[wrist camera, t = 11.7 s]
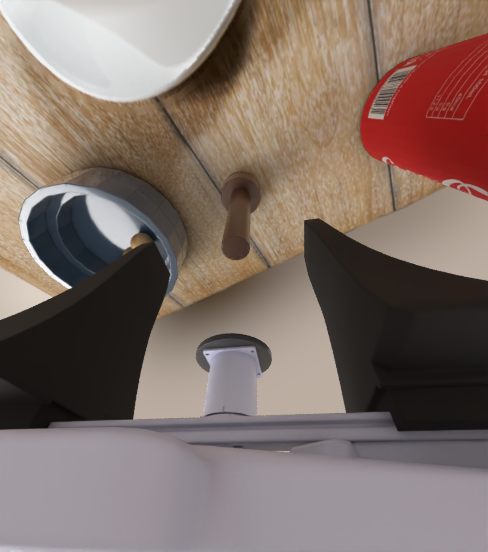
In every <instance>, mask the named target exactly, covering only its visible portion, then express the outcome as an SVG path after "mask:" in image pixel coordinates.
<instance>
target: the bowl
mask: <svg viewBox="0 0 488 552" xmlns="http://www.w3.org/2000/svg"><path fill="white" fill-rule="evenodd" d="M18 220H19V226H20V231H21V237H22V240H23V242H24V243H25V245H26V247H27V249H28V250H29V252H30V254H31V256H32V257H33V259H34V260H35V261H36V262H37V263H38V264H39V265H40V266H41V267H42V268H43V269H44V270H45V272H46V273H47V274H48V275H50V276H51V277H52V278H54V279H55V280H56V281H58V282H59V283H60V284H62V285H63V286H65V287H66V288H67V289H70V288H72V287H74V286H76V285H77V284H79V283H81V282H83V281H84V280H86V279H88V278H89V277H91V276H92V275H94V274H95V273H97V272H99V271H100V270H102V269H103V268H105V267H106V266H108V265H109V264H111V263H112V262H114V261H115V260H117V259H118V258H120V257H121V256H123V252H124V251H125V250H126V249H127V248H129V247H131V245H130V241H131V238H132V237H133V236H134V235H135V234H137V233H145V234H147V235H149V236H150V237H151V238H152V240H153V242H155V244H156V246H157V248H158V250H159V252H160V254H161V256H162V258H163V260H164V262H165V264H166V266H167V268H168V270H169V272H170V278H169V284H168V288H167V292H166V294H165V296H167V295H168V294H169V293H170V292H171V291H172V290H173V287H174V285H175V282H176V280H177V277H178V275H179V272H180V270H181V267H182V265H183V262H184V259H185V257H186V254H187V234H186V231H185V228H184V226H183V223H182V221H181V218H180V216H179V215H178V213H177V212H176V211H175V209H174V208H173V207H172V205H171V204H170V203H169V201H168V200H167V199H166V198H165V197H164V196H163V195H162V194H160V193H159V192H158V191H157V190H155V189H154V188H153V187H152V186H150V185H149V184H148V183H147V182H145V181H143V180H141V179H138V178H136V177H134V176H132V175H130V174H128V173H125V172H123V171H120V170H114V169H107V168H101V167H93V168H88V169H83V170H78V171H75V172H72V173H70V174H68V175H66V176H64V177H62V178H60V179H58V180H55V181H53V182H51V183H49V184H47V185H45V186H43V187H41V188H39V189H38V190H37V191H35V192H34V193H33V194H31V195H30V196H29V197H28V198H26V199H25V200H24V203H23V206H22V209H21V212H20V215H19V219H18Z"/></svg>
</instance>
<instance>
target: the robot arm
mask: <svg viewBox="0 0 488 552" xmlns="http://www.w3.org/2000/svg"><path fill="white" fill-rule="evenodd" d="M304 258H305V262H306V267H307V271H308V275H309V278H310V281H311V284H312V286H313V289H314V292H315V294H316V297H317V300H318V302H319V305H320V307H321V310H322V313H323V316H324V319H325V322H326V326H327V330H328V334H329V338H330V342H331V346H332V350H333V354H334V358H335V363H336V368H337V372H338V376H339V381H340V385H341V390H342V395H343V400H344V404H345V410H346V413H330V414H299V415H298V414H297V415H267V416H266V415H265V416H257V378H262V372H261V368H260V364H259V360H258V356H257V352H256V348H255V346H239V347H225V348H211V349H204V350H203V353H204V355H205V357H206V359H207V361H208V363H209V365H210V372H209V378H208V385H207V392H206V398H205V405H204V411H203V417H200V418H169V419H138V420H133V416H134V409H135V401H136V395H137V389H138V384H139V378H140V373H141V368H142V364H143V360H144V355H145V351H146V347H147V344H148V340H149V336H150V333H151V330H152V328H153V325H154V322H155V320H156V317H157V315H158V312H159V310H160V307H161V305H162V302H163V300H164V297H165V294H166V292H167V288H168V284H169V278H170V272H169V270H168V268H167V266H166V264H165V262H164V260H163V258H162V256H161V254H160V252H159V250H158V248H157V246H156V244H155V242H150V243H143V244H141V245H139V246H137V247H135V248H134V249H132V250H130V251H129V252H127V253H126V254H124V255H123V256H121V257H120V258H118V259H117V260H115V261H114V262H112V263H111V264H109V265H108V266H106V267H105V268H103V269H102V270H100V271H99V272H97V273H95V274H94V275H92V276H91V277H89V278H88V279H86V280H84V281H83V282H81V283H79V284H77V285H76V286H74V287H72V288H70V289H68V290H66V291H65V292H63V293H61V294H59V295H57V296H55V297H53V298H51V299H48V300H46V301H44V302H42V303H40V304H38V305H36V306H33V307H31V308H29V309H27V310H24V311H22V312H20V313H17V314H15V315H12V316H10V317H7V318H5V319H2V320H0V552H488V281H486V280H480V279H474V278H469V277H464V276H459V275H454V274H450V273H446V272H442V271H437V270H433V269H429V268H426V267H422V266H418V265H415V264H412V263H409V262H406V261H402V260H399V259H396V258H394V257H390V256H388V255H386V254H383V253H381V252H378V251H376V250H373V249H371V248H369V247H367V246H365V245H363V244H361V243H359V242H356V241H355V240H353V239H351V238H349V237H347V236H346V235H344V234H343V233H341V232H339V231H338V230H336V229H335V228H333V227H332V226H330V225H328V224H327V223H325V222H324V221H322V220H320V219H319V218H318V219H311V220H304ZM277 451H290V453H289V452H277Z"/></svg>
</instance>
